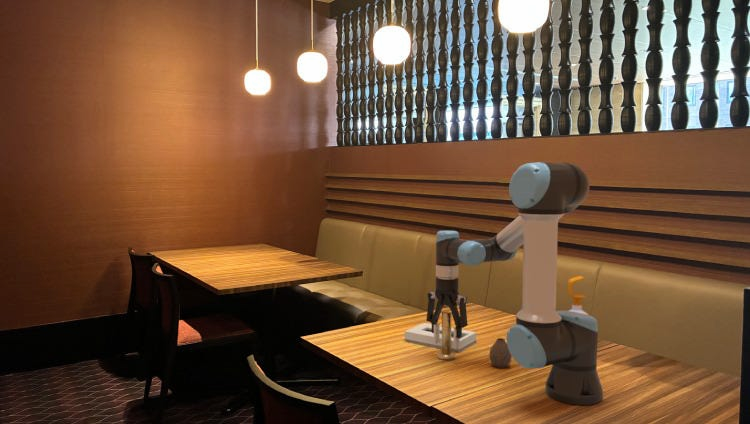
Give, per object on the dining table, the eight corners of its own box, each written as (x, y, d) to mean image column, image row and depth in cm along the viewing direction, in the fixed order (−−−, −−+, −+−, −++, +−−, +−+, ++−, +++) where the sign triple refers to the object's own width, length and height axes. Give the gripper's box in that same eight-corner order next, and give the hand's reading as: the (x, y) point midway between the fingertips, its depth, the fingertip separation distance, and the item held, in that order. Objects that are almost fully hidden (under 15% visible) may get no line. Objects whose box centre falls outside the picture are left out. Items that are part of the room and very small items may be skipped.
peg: (449, 361, 185) (450, 315, 184) (434, 358, 188) (434, 312, 187) (458, 356, 190) (458, 311, 189) (442, 353, 193) (443, 309, 192)
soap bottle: (593, 347, 200) (595, 279, 198) (567, 347, 200) (569, 279, 198) (584, 340, 209) (586, 274, 207) (559, 339, 209) (561, 274, 207)
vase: (511, 370, 177) (512, 343, 176) (489, 368, 178) (489, 341, 178) (511, 363, 184) (511, 336, 183) (489, 361, 185) (489, 335, 184)
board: (458, 352, 194) (458, 341, 194) (404, 341, 207) (404, 331, 207) (476, 342, 205) (476, 332, 205) (424, 332, 218) (424, 322, 218)
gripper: (479, 278, 184) (478, 347, 186) (427, 272, 196) (426, 337, 197) (469, 282, 178) (468, 353, 180) (415, 275, 190) (415, 342, 191)
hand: (446, 344), depth 189 cm, fingers open, 7 cm apart
